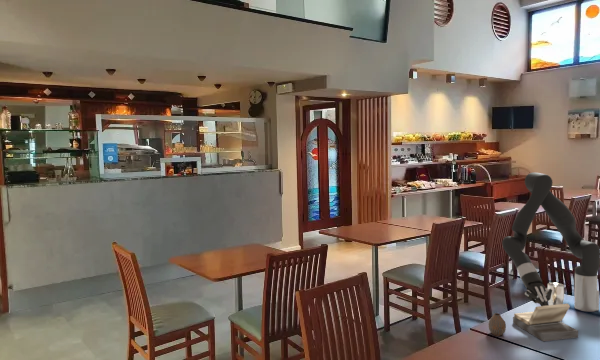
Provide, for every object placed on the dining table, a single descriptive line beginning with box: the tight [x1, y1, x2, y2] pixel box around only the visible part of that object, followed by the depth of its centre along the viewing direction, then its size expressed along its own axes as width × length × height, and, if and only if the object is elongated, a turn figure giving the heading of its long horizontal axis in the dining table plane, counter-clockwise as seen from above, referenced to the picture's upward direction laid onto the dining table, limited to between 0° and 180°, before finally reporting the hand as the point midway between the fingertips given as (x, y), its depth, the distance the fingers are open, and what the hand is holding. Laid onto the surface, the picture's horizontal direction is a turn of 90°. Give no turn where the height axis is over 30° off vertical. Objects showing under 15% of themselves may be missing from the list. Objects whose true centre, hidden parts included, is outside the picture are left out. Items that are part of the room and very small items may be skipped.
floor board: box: [512, 311, 579, 342], centre depth 198 cm, size 20×16×4 cm
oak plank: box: [529, 303, 571, 324], centre depth 195 cm, size 10×15×2 cm
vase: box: [488, 312, 507, 337], centre depth 196 cm, size 7×7×9 cm
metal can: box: [546, 282, 565, 305], centre depth 213 cm, size 7×7×15 cm
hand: (547, 310), depth 195 cm, fingers closed
